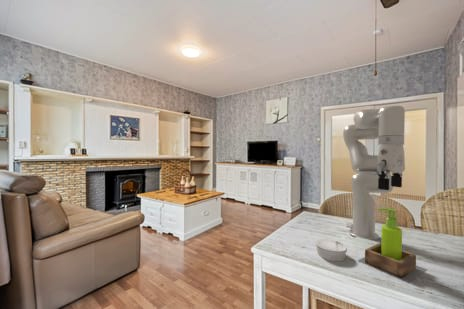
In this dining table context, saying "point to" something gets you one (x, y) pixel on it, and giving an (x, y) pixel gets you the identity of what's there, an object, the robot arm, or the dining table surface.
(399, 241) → the soap dispenser
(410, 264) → the walnut box
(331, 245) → the ramekin
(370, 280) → the dining table surface
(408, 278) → the pale grey square slab
